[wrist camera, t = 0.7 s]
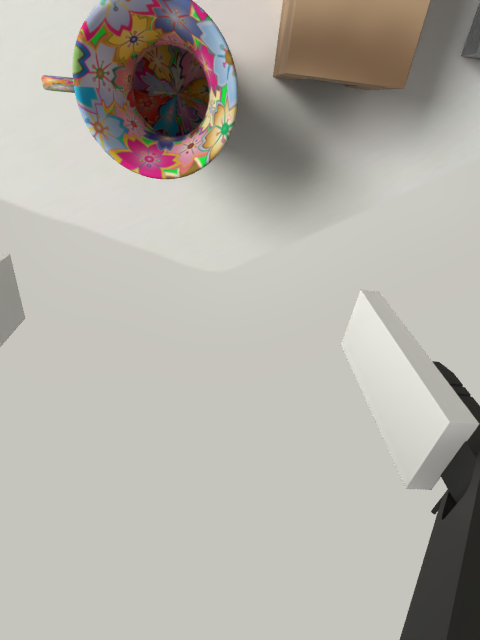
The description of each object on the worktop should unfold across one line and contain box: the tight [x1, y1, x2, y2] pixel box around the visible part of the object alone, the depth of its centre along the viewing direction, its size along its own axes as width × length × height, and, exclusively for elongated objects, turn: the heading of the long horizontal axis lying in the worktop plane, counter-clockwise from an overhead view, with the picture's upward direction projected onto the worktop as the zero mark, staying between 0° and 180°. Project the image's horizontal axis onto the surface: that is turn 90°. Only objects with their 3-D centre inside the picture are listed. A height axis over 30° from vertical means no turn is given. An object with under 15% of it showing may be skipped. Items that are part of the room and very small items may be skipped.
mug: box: [42, 0, 238, 179], centre depth 25 cm, size 12×9×11 cm
